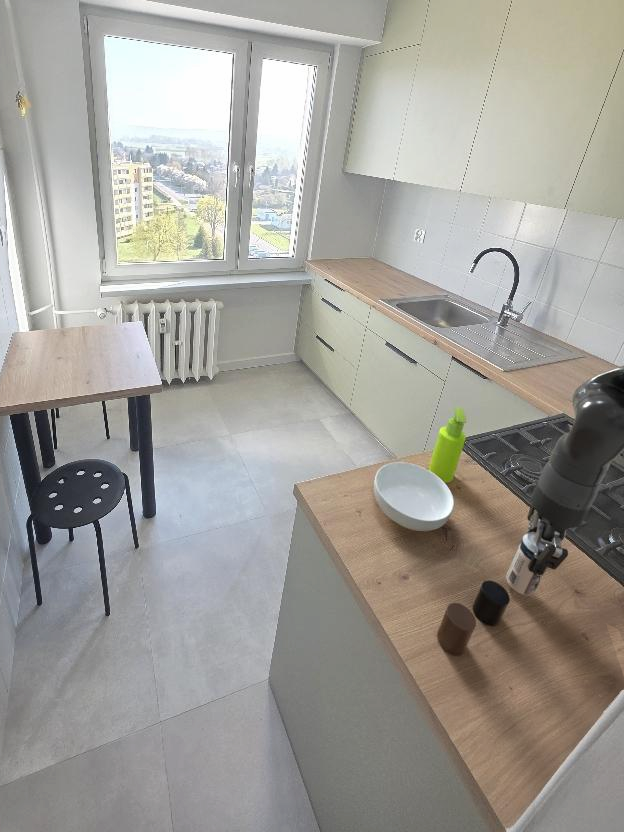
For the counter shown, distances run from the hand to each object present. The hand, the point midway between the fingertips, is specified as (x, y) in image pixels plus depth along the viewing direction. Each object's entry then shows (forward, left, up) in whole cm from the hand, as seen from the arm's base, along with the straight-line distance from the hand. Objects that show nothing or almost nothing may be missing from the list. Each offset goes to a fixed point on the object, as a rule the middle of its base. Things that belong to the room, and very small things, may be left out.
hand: (532, 558), depth 77 cm
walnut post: (+12, +16, -9) cm, 22 cm away
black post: (+6, +8, -9) cm, 13 cm away
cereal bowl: (+21, -10, -9) cm, 25 cm away
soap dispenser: (+14, -26, -9) cm, 31 cm away
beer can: (0, 0, -8) cm, 8 cm away
